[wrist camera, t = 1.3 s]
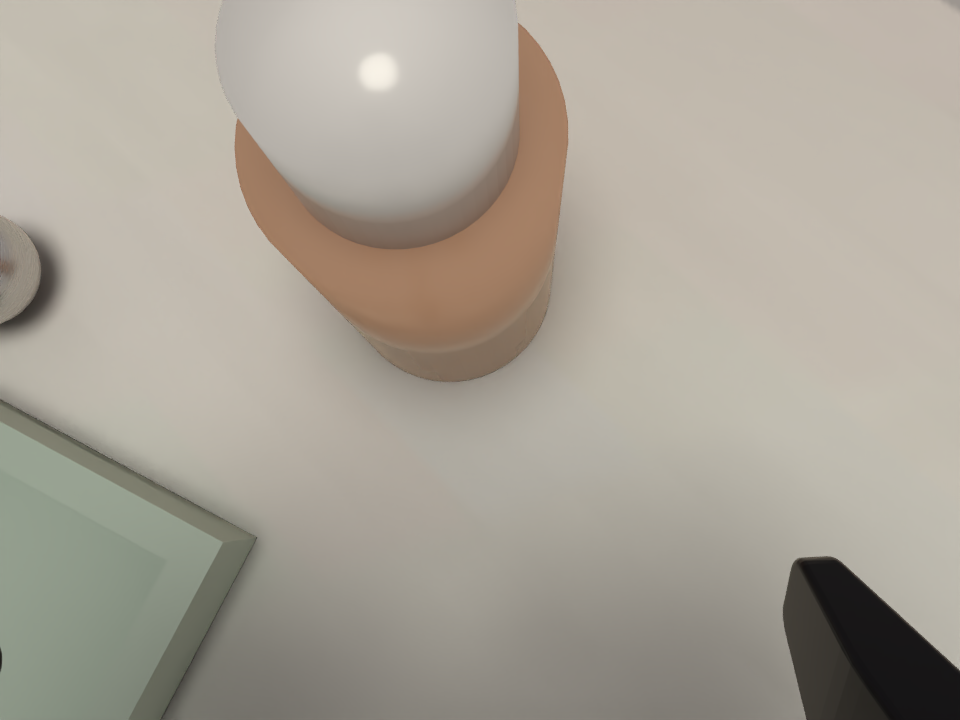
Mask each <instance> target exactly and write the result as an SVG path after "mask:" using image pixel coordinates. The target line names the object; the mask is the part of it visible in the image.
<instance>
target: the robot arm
mask: <svg viewBox="0 0 960 720" xmlns="http://www.w3.org/2000/svg"><path fill="white" fill-rule="evenodd" d="M783 621H784V628H785V632H786V636H787V641H788V645H789V649H790V653H791V657H792V661H793V665H794V670H795V674H796V678H797V682H798V686H799V690H800V694H801V699H802V703H803V707H804V711H805V715H806V719H807V720H960V670H959V669H958V668H957V667H955V666H954V665H953V664H952V663H951V662H950V661H949V660H948V659H947V658H946V657H945V656H943V655H942V654H941V653H940V652H939V651H938V650H937V649H936V648H935V647H934V646H933V645H931V644H930V643H929V642H928V641H927V640H926V639H925V638H924V637H923V636H922V635H921V634H919V633H918V632H917V631H916V630H915V629H914V628H913V627H912V626H911V625H910V624H909V623H907V622H906V621H905V620H904V619H903V618H902V617H901V616H900V615H899V614H898V613H897V612H895V611H894V610H893V609H892V608H891V607H890V606H889V605H888V604H887V603H886V602H885V601H883V600H882V599H881V598H880V597H879V596H878V595H877V594H876V593H875V592H874V591H873V590H871V589H870V588H869V587H868V586H867V585H866V584H865V583H864V582H863V581H862V580H861V579H859V578H858V577H857V576H856V575H855V574H854V573H853V572H852V571H851V570H850V569H848V568H847V567H846V566H845V565H844V564H843V563H842V562H841V561H839V560H838V559H836V558H833V557H828V556H824V557H805V558H798V559H797V560H795V561H794V563H793V565H792V567H791V572H790V577H789V581H788V586H787V591H786V596H785V600H784V605H783ZM1 668H2V651H1V647H0V672H1Z"/></svg>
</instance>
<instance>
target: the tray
mask: <svg viewBox="0 0 960 720" xmlns="http://www.w3.org/2000/svg"><path fill="white" fill-rule="evenodd" d="M256 538H257V537H255V536H253V535H251V534H249V533H247V532H245V531H244V530H242V529H240V528H238V527H236V526H234V525H232V524H231V523H229V522H227V521H225V520H223V519H221V518H219V517H218V516H216V515H214V514H212V513H210V512H208V511H206V510H205V509H203V508H201V507H199V506H197V505H195V504H193V503H192V502H190V501H188V500H186V499H184V498H182V497H180V496H179V495H177V494H175V493H173V492H171V491H169V490H167V489H166V488H164V487H162V486H160V485H158V484H156V483H154V482H152V481H151V480H149V479H147V478H145V477H143V476H141V475H139V474H138V473H136V472H134V471H132V470H130V469H128V468H126V467H125V466H123V465H121V464H119V463H117V462H115V461H113V460H112V459H110V458H108V457H106V456H104V455H102V454H100V453H99V452H97V451H95V450H93V449H91V448H89V447H87V446H86V445H84V444H82V443H80V442H78V441H76V440H74V439H73V438H71V437H69V436H67V435H65V434H63V433H61V432H60V431H58V430H56V429H54V428H52V427H50V426H48V425H47V424H45V423H43V422H41V421H39V420H37V419H35V418H34V417H32V416H30V415H28V414H26V413H24V412H22V411H21V410H19V409H17V408H15V407H13V406H11V405H9V404H8V403H6V402H4V401H2V400H0V647H1V651H2V668H1V672H0V720H160V719H161V718H162V716H163V714H164V712H165V710H166V708H167V706H168V704H169V702H170V701H171V699H172V697H173V695H174V693H175V691H176V689H177V687H178V685H179V684H180V682H181V680H182V678H183V676H184V674H185V672H186V670H187V668H188V667H189V665H190V663H191V661H192V659H193V657H194V655H195V653H196V651H197V650H198V648H199V646H200V644H201V642H202V640H203V638H204V636H205V635H206V633H207V631H208V629H209V627H210V625H211V623H212V621H213V619H214V618H215V616H216V614H217V612H218V610H219V608H220V606H221V604H222V602H223V601H224V599H225V597H226V595H227V593H228V591H229V589H230V587H231V585H232V584H233V582H234V580H235V578H236V576H237V574H238V572H239V570H240V568H241V567H242V565H243V563H244V561H245V559H246V557H247V555H248V553H249V551H250V550H251V548H252V546H253V544H254V542H255V540H256Z"/></svg>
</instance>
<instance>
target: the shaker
mask: <svg viewBox="0 0 960 720" xmlns="http://www.w3.org/2000/svg"><path fill="white" fill-rule="evenodd" d="M215 55H216V65H217V70H218V75H219V79H220V83H221V85H222V88H223V91H224V93H225V96H226V99H227V101H228V102H229V104H230V106H231V108H232V110H233V111H234V113H235V115H236V116H237V118H238V119H237V124H236V134H235V158H236V169H237V173H238V178H239V183H240V187H241V190H242V193H243V195H244V198H245V201H246V204H247V206H248V208H249V210H250V212H251V214H252V216H253V217H254V219H255V221H256V223H257V225H258V226H259V228H260V229H261V230H262V232H263V233H264V234H265V236H266V237H267V238H268V240H269V241H270V242H271V243H272V244H273V245H274V246H275V247H276V248H277V249H278V250H279V251H280V253H281V254H282V255H283V256H284V257H285V258H286V259H287V260H288V261H289V262H290V263H291V264H292V265H293V266H294V267H295V268H296V269H297V270H298V271H299V272H300V273H301V274H302V275H303V276H304V277H305V278H306V279H307V280H308V281H309V282H310V283H311V284H312V285H313V286H314V287H315V288H316V289H317V290H318V291H319V292H320V293H321V294H322V295H323V296H324V297H325V298H326V299H327V300H328V301H329V302H330V303H331V304H332V305H333V306H334V307H335V308H336V309H337V310H338V311H339V312H340V313H341V314H342V315H343V316H344V317H345V318H346V319H347V321H348V322H349V323H350V324H351V325H352V326H353V327H354V328H355V329H356V330H357V331H358V332H359V333H360V334H361V335H362V336H363V337H364V338H365V339H366V340H367V341H368V342H369V343H370V344H371V345H372V346H373V347H374V348H375V349H376V350H377V351H378V352H379V353H380V354H381V355H382V356H383V357H384V358H385V359H387V360H388V361H389V362H391V363H392V364H393V365H395V366H396V367H398V368H400V369H401V370H403V371H405V372H407V373H410V374H412V375H415V376H417V377H421V378H424V379H428V380H434V381H442V382H457V381H465V380H471V379H475V378H478V377H482V376H485V375H487V374H489V373H492V372H494V371H496V370H498V369H500V368H501V367H503V366H505V365H506V364H508V363H509V362H510V361H512V360H513V359H514V358H516V357H517V356H518V355H519V354H520V353H521V352H522V351H523V350H524V349H525V348H526V347H527V346H528V344H529V343H530V342H531V340H532V339H533V338H534V336H535V335H536V333H537V331H538V329H539V328H540V326H541V324H542V321H543V319H544V317H545V314H546V310H547V307H548V303H549V297H550V289H551V281H552V272H553V264H554V256H555V247H556V239H557V231H558V222H559V214H560V205H561V197H562V189H563V180H564V172H565V164H566V155H567V147H568V118H567V112H566V105H565V100H564V96H563V93H562V90H561V86H560V83H559V80H558V78H557V76H556V74H555V71H554V69H553V67H552V65H551V63H550V61H549V60H548V58H547V56H546V55H545V53H544V52H543V50H542V49H541V47H540V46H539V44H538V43H537V42H536V41H535V40H534V38H533V37H532V36H531V35H530V34H529V33H528V31H527V30H526V29H525V28H524V27H522V26H521V25H520V24H519V23H518V17H517V10H516V3H515V0H223V2H222V4H221V7H220V11H219V15H218V20H217V25H216V35H215Z"/></svg>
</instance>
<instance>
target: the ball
mask: <svg viewBox="0 0 960 720" xmlns="http://www.w3.org/2000/svg"><path fill="white" fill-rule="evenodd" d="M40 280H41V262H40V258H39V255H38V252H37V249H36V247H35V245H34V244H33V242H32V241H31V239H30V238H29V236H28V235H27V234H26V233H25V232H24V231H23V230H22V229H21V228H20V227H19V226H17V225H16V224H15V223H13V222H12V221H10V220H9V219H7V218H5V217H3V216H1V215H0V324H1V323H3V322H6V321H8V320H10V319H12V318H14V317H16V316H17V315H18V314H20V313H21V312H22V311H23V310H24V309H25V308H26V307H27V306H28V305H29V304H30V303H31V301H32V300H33V298H34V297H35V295H36V293H37V291H38V288H39V285H40Z"/></svg>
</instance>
